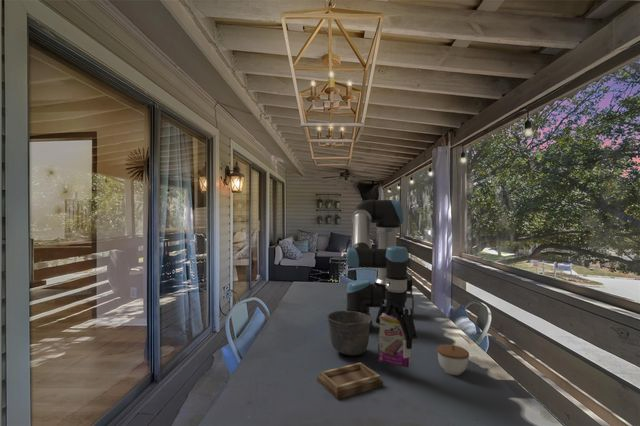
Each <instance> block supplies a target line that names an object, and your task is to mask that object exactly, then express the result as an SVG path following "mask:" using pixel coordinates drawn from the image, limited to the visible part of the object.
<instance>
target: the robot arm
mask: <svg viewBox="0 0 640 426" xmlns="http://www.w3.org/2000/svg"><path fill="white" fill-rule="evenodd" d="M403 211H404V210H403V206H402V203H401V202H400V201H399V200H394V199H367V200H366V199H365V200H364V201H362V202H360V203H359V204H358V205H356V206H355V208H353V210H352V213H351V222H352V238H351V239H352V240H351V241H352V242H351V243H352V244H351V247H348V248H347V249H346V266H347V267H351V268H352V267H353V268H369V269H370V268H372V269H377V277H376V278H375V279H374V282H373V283H371V281H370V280H369V279H356V280H352V281H350V282H348V283H347V285H346V310H345V311H346V312H347V311H356V312H360V313H363V314H366V315H368V316H370V317H371V318H372V316H371V314H370V308H375V309H376V308H377V309H378V308H379V310H378V312H377V316H376V319H375V323H376V324H378V325H379V316H380V315H381V314H382V313H385V314H386V315H393V316H395V317H396V318H397V320H399V323H400V325H401V328H402V330H403V333H404V336H405V338H404V341H403V358H408V357H411V358H412V348H413V340H416V339H418V335H417V334H418V333H417V330H416V326H415V323H414V318H413V317H412V307H411V308H407V307H406V305H405V304H406V302H407V300H408V298H407V294H408V291H405V290H407V281H408V276H407V274H408V262H409V261H408V260H409V256H408V255H409V254H408V253H409V252H408V251H409V250H408V248H406V247H405V246H398V245H397V231H398V230H399V229H401V225H403V224H404V212H403ZM371 224H375V228H376V229H377V230H378V248H371V232H370V231H371V230H370V228H371V226H370V225H371ZM401 316H402V317H401ZM405 321H406V322H405ZM373 325H374V323H373V319H372V320H371V323H370V329H369V332H370V331H372V330H373V329H374V328H373ZM408 334H409V336H408Z"/></svg>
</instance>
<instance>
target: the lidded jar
mask: <svg viewBox="0 0 640 426" xmlns="http://www.w3.org/2000/svg"><path fill="white" fill-rule="evenodd" d="M469 357H470V352H469V351H468V350H467V349H466V348H464V347H462V346H458V345H455V344H441V345H440V344H439V346H438V347H437V359H438V363H439V366H440V367H441V369H442V370H443V371H444V372H445V373H446V374H448V375H452V376H461V374H462V373H463V372H465V371H466V369H467V368H468V365H469Z"/></svg>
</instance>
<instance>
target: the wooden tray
mask: <svg viewBox="0 0 640 426" xmlns="http://www.w3.org/2000/svg"><path fill="white" fill-rule="evenodd" d="M316 381H317V382H318V383H319V384H320V385H321V386H322V387H323V388H324V389H325V390H327V391H328V392H329V393H330V394H331V395H332V396H333V397H334V399H336V400H340V399H344V398H346V397H347V398H348V397H349V396H354V395H356V394H359V393H360V394H361V393H363V392H367V391H370V390H374V389H376V388H380V387H383V386H384V381H383V380H382V379H381V375H380V374H378V373H377V372H376V371H374V370H373V369H371V368H369V367H368V366H366V365H365V364H364V363H362V362H361V361H360V362H357V363H352V364H348V365H344V366H340V367H336V368H332V369H327V370H323V371H320V372H319V374H318V375H316Z"/></svg>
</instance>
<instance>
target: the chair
mask: <svg viewBox="0 0 640 426" xmlns="http://www.w3.org/2000/svg"><path fill="white" fill-rule="evenodd" d="M407 277H410V278H409V279H410V280H407V290H405V291H406V292H409V293H407V299H411V302H412V303H411V309H412V317H413V319H414V316H415V298H414V295H413V275H412V274H408V273H407Z"/></svg>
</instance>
